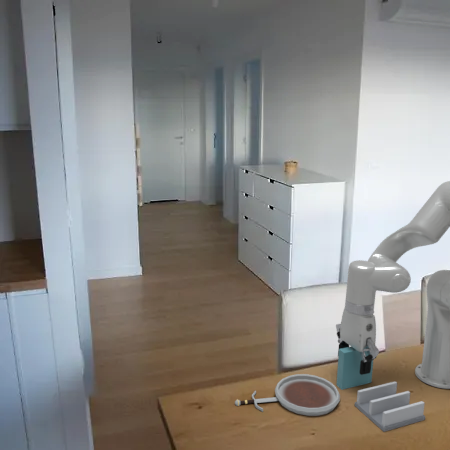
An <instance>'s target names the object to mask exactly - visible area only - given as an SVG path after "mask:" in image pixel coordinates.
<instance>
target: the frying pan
mask: <svg viewBox="0 0 450 450" xmlns="http://www.w3.org/2000/svg"><path fill="white" fill-rule="evenodd" d="M337 388H338V387H336V385H334V384H333V382H331V381H329V380H327V379H326V378H324V377H321V376H318V375H316V374H315V375H314V374H308V373H300V374H299V373H296V374H292V375H288V376H286V377H283V378H282V379H280V380H279V382H277V384H276V385H275V388H274V392H275V393H274V394H275V397H265V398H255V395H256V394H257V390H254V391H253V393H252V394H251V399H245V400H240V399H238V398H237V399H236V400H235V401H234V405H235V406H236V407H239V406H240V405H244V404H245V405H247V404H254V407H255V409H257V410H259V411H261V412H263V413H264V408H263V407H261V406H259V405H258V403H259V404H260V403H271V402H279V403H280V405H281V406H282V407H284V408H285V409H287V410H288V411H290V412H293V413H295V414H297V415H301V416H302V415H304V416H307V417H308V416H309V417H311V416H312V417H316V416H317V417H320V416H323V415H326V414H329V413H330V412H332V411H334V409H335V408H336V407H337V405H338V404H339V402H341V401H340V400H341V394H340V392H339V390H338V389H337Z"/></svg>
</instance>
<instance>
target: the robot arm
mask: <svg viewBox="0 0 450 450" xmlns="http://www.w3.org/2000/svg"><path fill="white" fill-rule="evenodd" d="M449 228H450V180H449V181H448V180H447V181H445V182H443V183H441V184H440V185H439V186H438V187H436V189H435V190H434V192H433V193H432V194H431V195H430V196H429V197H428V198H427V200H426V202H425V203H424V204H423V206H422V207H421V208H420V209H419V211H418V212H417V213H416V214H415V216H414V217H412V219H411V220H410V222H409V223H408V224H405V225H404V226H402V227H401V228H399V229H397V230H396V231H394V232H392V233H391V234H389V235H388V236H386V238H384V239H383V240H382V241H381V242H380V243H379V244H378V246H377V247H376V248H375V249H374V251H372V253H371V255H370V257H369V258H368V260H363V259H362V260H361V259H360V260H358V259H357V260H353V261H351V262H350V263H349V265H348V269H347V270H348V272H347V280H346V281H347V282H346V292H345V300H344V308H343V312H342V315H341V322H340V323H337V324H336V325H335V328H336V335H337V338H338V339H337V342H338V352H337V356H338V355H339V349H342V348H347V347H353V348H354V349H356V350H357V351H359V352H360V354H361V357H362V360H361V362H360V372H359V373H360V374H361V375H363V374H368V373H370V372H371V363H372V361H373V362H374V360H375V359H377V357H378V355H379V353H380V350H379V349H378V347H377V346H376V343H377V342H376V339H377V322H376V316H375V315H374V313H375V304H376V303H375V302H376V301H375V300H376V293H377V291H379V292H383V293H384V292H386V293H392V294H394V293H395V294H396V293H401V292H404V291H405V290H406V289H408V288H409V287H410V284H411V279H412V278H411V274H410V272H409V271H408V270H407V268H405V267H404V266H403V265H401V264H399V263H397V262H398V261H399V259H401V257H403V255H405V254H406V253H407V252H409V251H410V250H413V249H416V248H419V247H424V246H430V245H434V244H437V243H438V242H439V241H440V240H441V238H443V236H444V235H445V233H446V232H447V231H448V229H449ZM426 299H427V300H426V301H427V311H426V312H427V314H426V316H427V317H426V322H425V323H426V324H425V331H424V332H425V334H424V341H423V350H422V360H421V363H419V364H418V365H416V366H415V369H414V373H415V376H416V377H417V379H419V380H420V381H421V382H423V383H425V384H427V385H429V386H432V387H435V388H438V389H447V390H449V389H450V270H448V269H440V270H437V271H435V272H434V273H433V274H431V275H430V277H429V278H428V280H427V283H426ZM365 347H366V349H363V348H365ZM365 352H367V353H368V356H366V355H365Z"/></svg>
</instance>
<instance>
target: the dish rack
mask: <svg viewBox="0 0 450 450" xmlns="http://www.w3.org/2000/svg"><path fill="white" fill-rule="evenodd" d="M397 389H398V382H397V381H390V382H386V383H383V384H379V385H375V386H372V387H371V386H370V387H367V388H363V389H362V388H361V389H359V390H357V394H356V395H357V396H356V401H355V402H354V407H355V408H356V409H358V410H359V411H360V412H361V413H362V414H363V415H365V416H366V418H367V419H369V420H370V421H371V422H372V423H374V425H376V426H377V428H379V429H380V430H381V431H382V432H383V433H384V432H388V431H391V430H395V429H398V428H401V427H405V426H408V425H411V424H416V423H418V422H422V421H425V420H426V415H424V411H425V403H426V402H424V401H422V400H421V401H418V402H414V403H411V404H410V399H411V392H410V391H409V390H406V391H402V392H398V393H397Z"/></svg>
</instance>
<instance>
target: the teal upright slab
mask: <svg viewBox="0 0 450 450" xmlns="http://www.w3.org/2000/svg"><path fill="white" fill-rule="evenodd" d="M338 349H339V348H338ZM363 349H366V347H365V348H363ZM365 355H366V356H368V353H367V352H365ZM337 357H338V358H337V374H336V386H337V388H339V389H340V390H346V389H351V388H354V387H355V388H356V387H358V386H362V385H366V384H371V383H372V379H373V370H374V369H373V367H374V360H373V361H372V363H371V372H370V373H368V374H363V375H361V374H360V373H359V372H360V362H361V360H362V357H361V354H360V352H359V351H357V350H356V349H354V348H353V347H351V346H349V347H347V348H342V349H339V355H338V354H337Z"/></svg>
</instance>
